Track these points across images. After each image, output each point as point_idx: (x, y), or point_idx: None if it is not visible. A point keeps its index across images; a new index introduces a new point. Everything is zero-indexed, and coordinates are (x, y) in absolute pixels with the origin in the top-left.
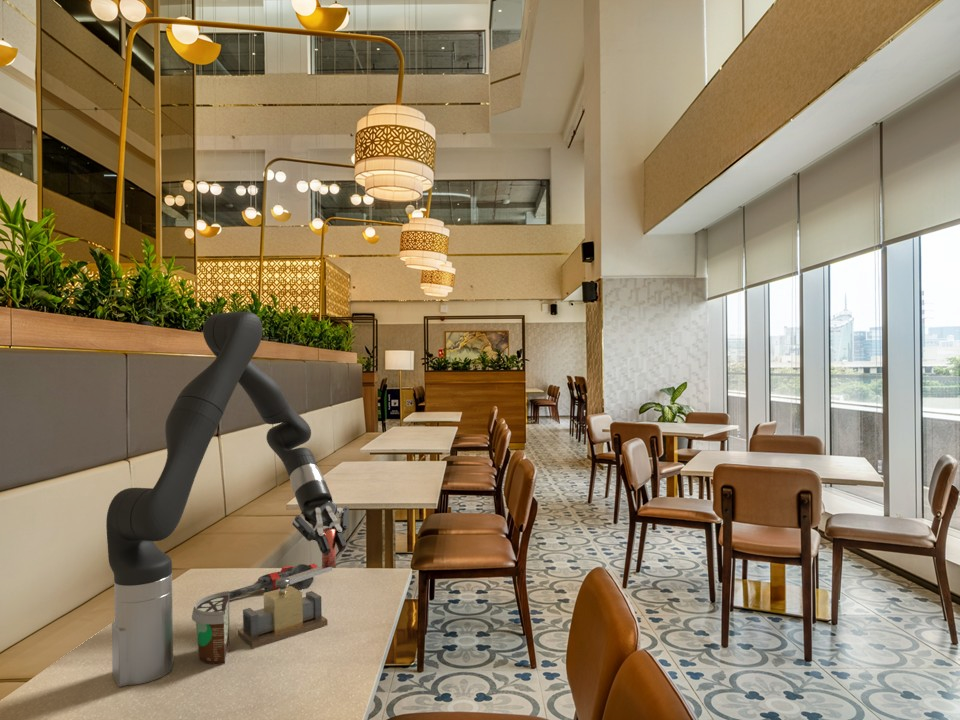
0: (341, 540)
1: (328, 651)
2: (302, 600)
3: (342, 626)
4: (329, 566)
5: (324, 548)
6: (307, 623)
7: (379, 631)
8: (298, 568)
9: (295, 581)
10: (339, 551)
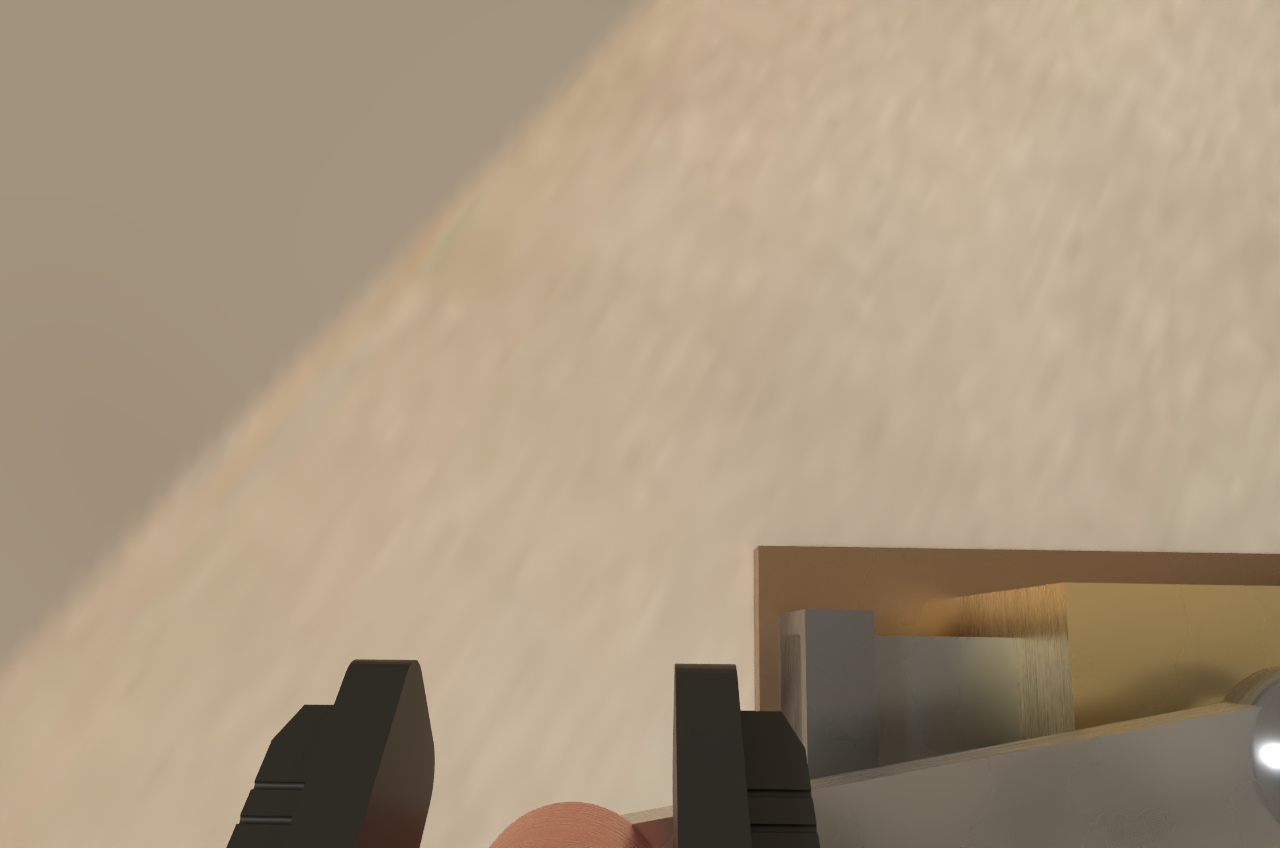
0: (354, 762)
1: (944, 157)
2: (952, 738)
3: (679, 445)
4: (611, 815)
5: (772, 736)
6: (921, 585)
7: (531, 184)
8: None
9: (1148, 719)
10: (432, 784)
